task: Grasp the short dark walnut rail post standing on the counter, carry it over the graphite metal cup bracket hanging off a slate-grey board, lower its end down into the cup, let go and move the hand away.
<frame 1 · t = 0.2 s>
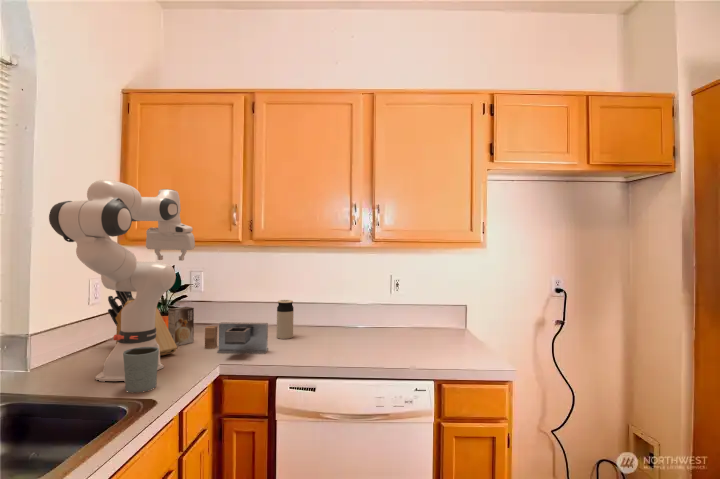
hand: (170, 260, 172), 39 cm above the worktop, tool pointing down, fingers open, 8 cm apart
knife block: (140, 351, 170), on the worktop
coffee box: (180, 343, 184), on the worktop
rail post: (210, 347, 178), on the worktop
grey-green planter pot: (140, 388, 128), on the worktop
cup bracket: (237, 356, 164), on the worktop
travel mug: (284, 337, 198), on the worktop
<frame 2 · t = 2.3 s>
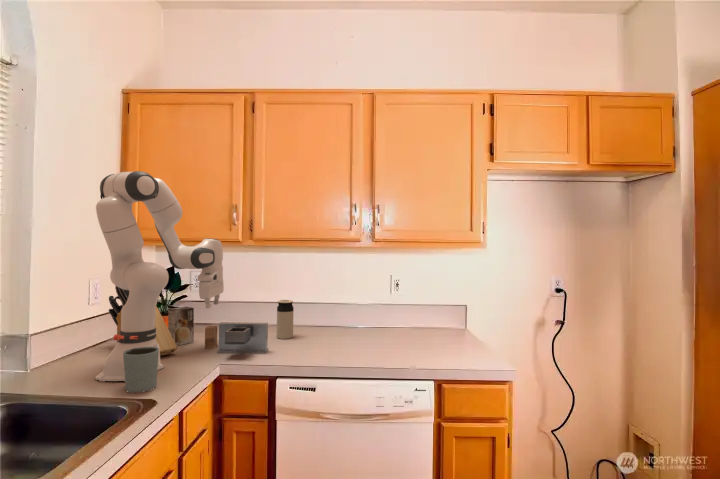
hand: (212, 306, 178), 18 cm above the worktop, tool pointing down, fingers open, 8 cm apart
nothing on the worktop moved.
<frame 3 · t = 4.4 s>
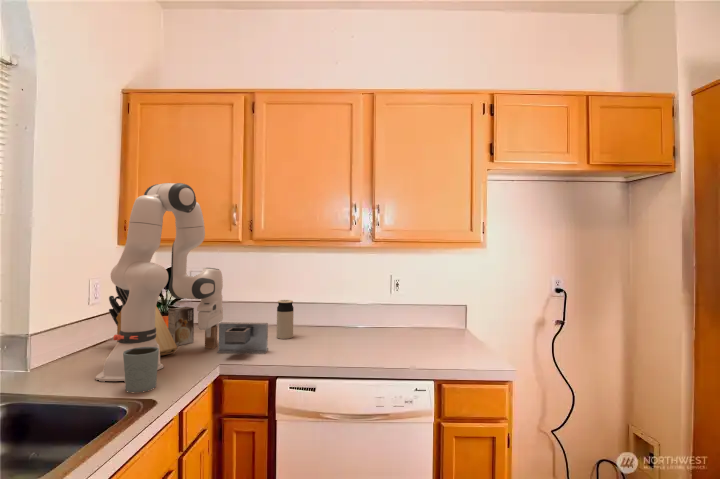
hand: (211, 335, 178), 5 cm above the worktop, tool pointing down, fingers closed on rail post, 4 cm apart
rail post: (210, 347, 178), on the worktop, touching gripper
everything else where it was.
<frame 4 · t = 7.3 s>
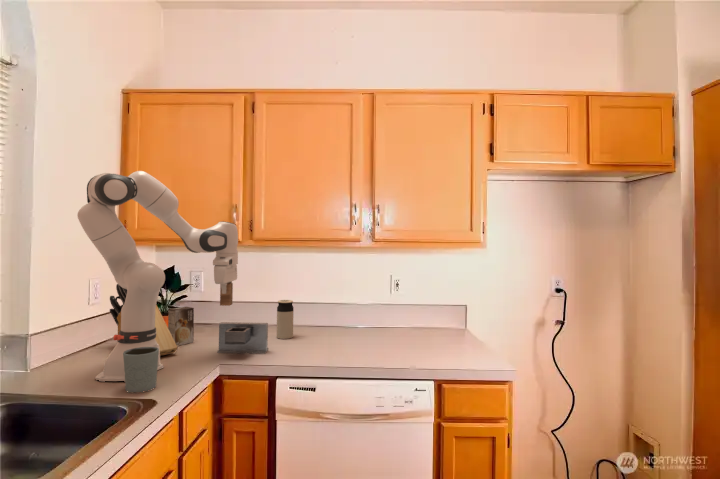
hand: (226, 292, 170), 25 cm above the worktop, tool pointing down, fingers closed on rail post, 4 cm apart
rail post: (226, 304, 170), point 20 cm above the worktop, touching gripper
everything else where it was.
when the fingers open (14 cm above the worktop, at t = 10.2 s): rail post drops 1 cm, resting on cup bracket.
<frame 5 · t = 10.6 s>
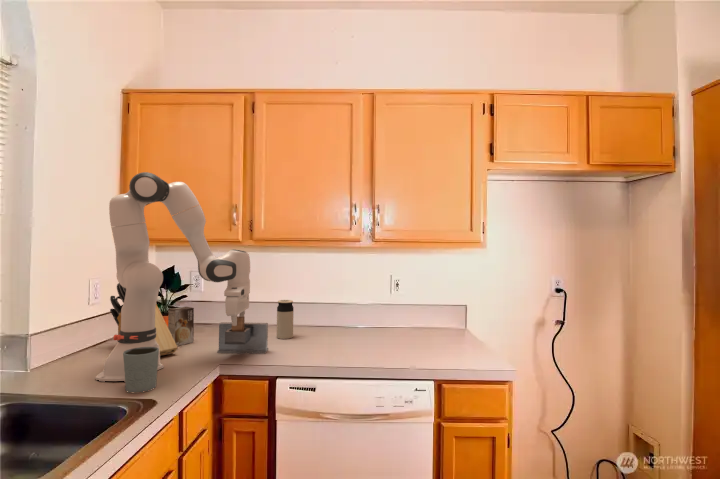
hand: (238, 323, 164), 14 cm above the worktop, tool pointing down, fingers open, 7 cm apart
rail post: (237, 339, 164), point 7 cm above the worktop, touching cup bracket
everything else where it was.
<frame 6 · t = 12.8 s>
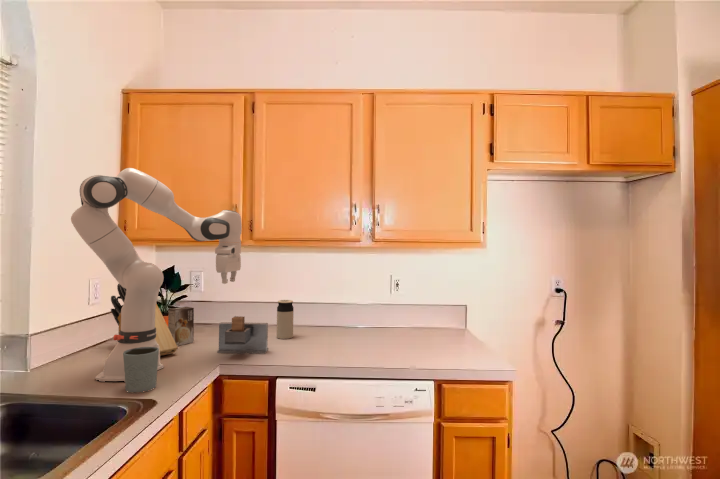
hand: (228, 282, 168), 30 cm above the worktop, tool pointing down, fingers open, 8 cm apart
nothing on the worktop moved.
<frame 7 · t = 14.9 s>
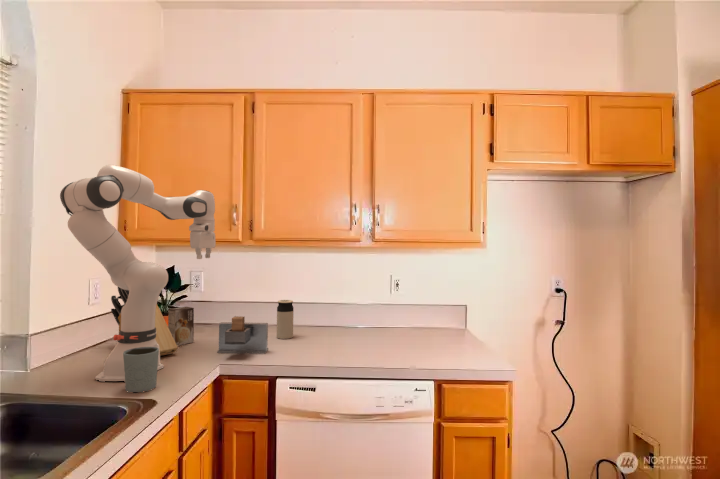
hand: (203, 258, 178), 39 cm above the worktop, tool pointing down, fingers open, 8 cm apart
nothing on the worktop moved.
at the end: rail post 0.0 cm off-centre on the cup bracket, point 7.0 cm above the cup bracket's base; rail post tilted 0°; the gripper is holding nothing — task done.
